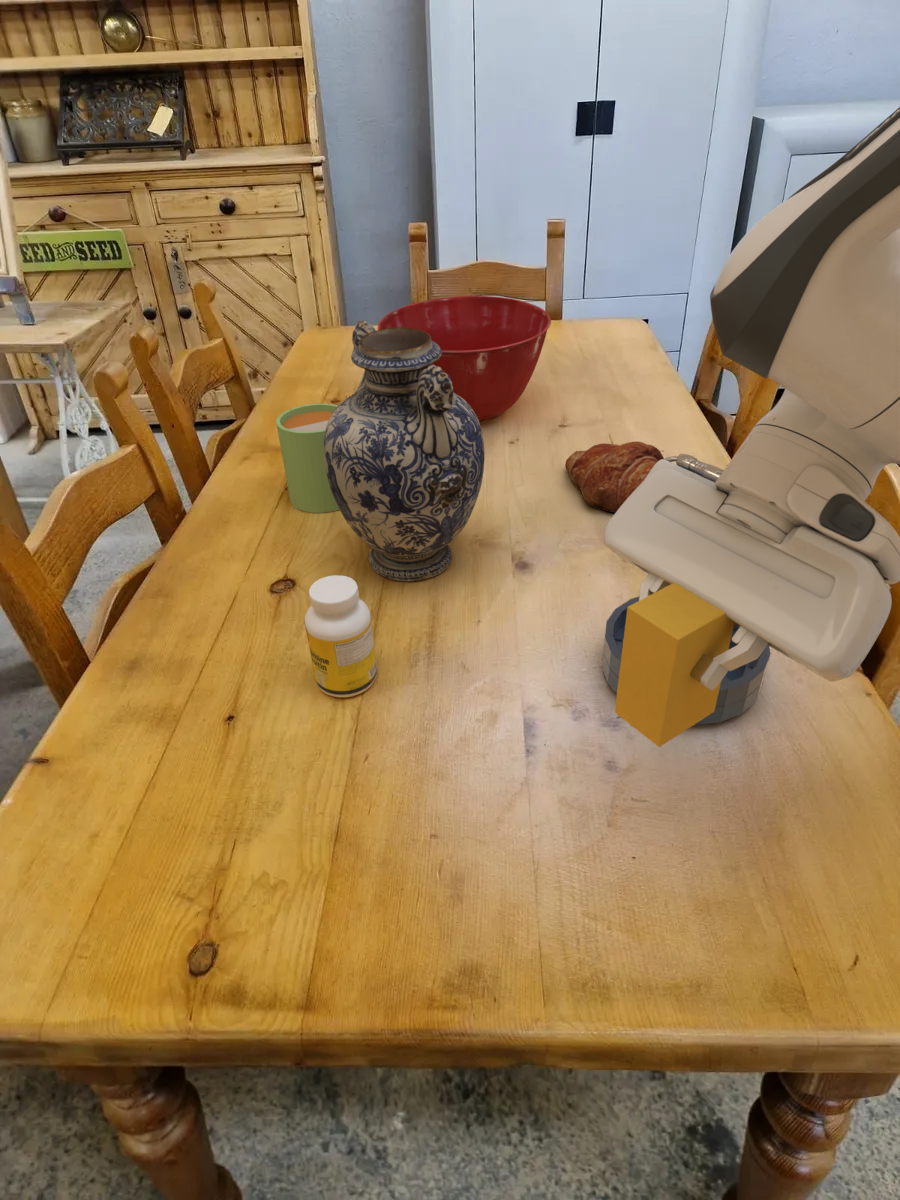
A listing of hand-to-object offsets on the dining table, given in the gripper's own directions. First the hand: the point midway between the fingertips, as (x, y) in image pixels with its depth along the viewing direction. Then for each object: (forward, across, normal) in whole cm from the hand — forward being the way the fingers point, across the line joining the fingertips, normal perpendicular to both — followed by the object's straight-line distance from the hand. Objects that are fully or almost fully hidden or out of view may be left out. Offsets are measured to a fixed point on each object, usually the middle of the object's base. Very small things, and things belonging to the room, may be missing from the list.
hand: (668, 661), depth 56 cm
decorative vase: (+8, -46, +18) cm, 50 cm away
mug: (+8, -69, +18) cm, 72 cm away
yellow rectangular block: (+3, 0, +4) cm, 5 cm away
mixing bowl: (-16, -81, +42) cm, 92 cm away
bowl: (+1, -10, +24) cm, 26 cm away
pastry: (-15, -41, +40) cm, 60 cm away
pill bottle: (+20, -31, +5) cm, 38 cm away
